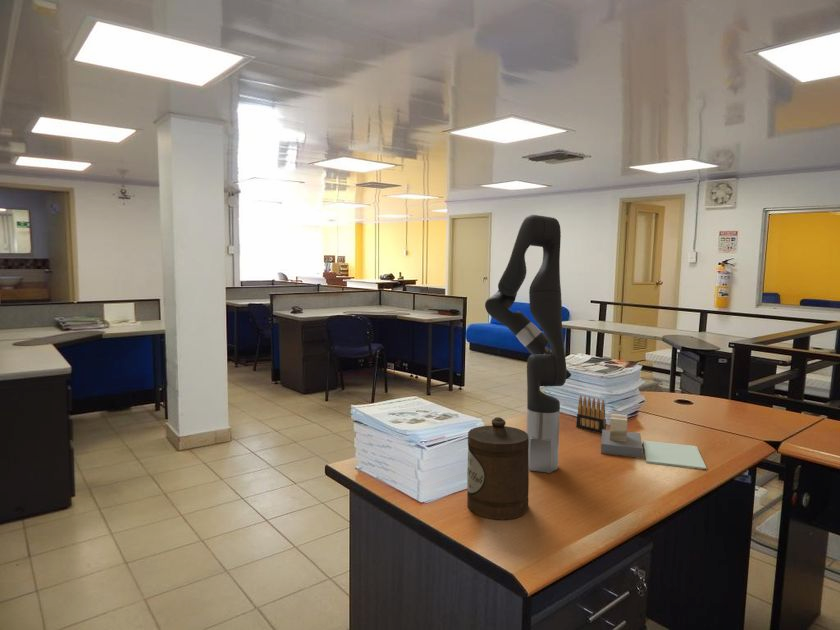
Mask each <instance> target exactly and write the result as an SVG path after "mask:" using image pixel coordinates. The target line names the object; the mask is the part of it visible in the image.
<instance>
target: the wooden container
mask: <svg viewBox="0 0 840 630" xmlns="http://www.w3.org/2000/svg"><path fill="white" fill-rule="evenodd" d="M505 425H506V421H505V419H503V418H502V417H498V416H497V417H494V418H493V419H492V420H491V425H483V426H482V425H481V426H476V427H473V428H471V429H470V430H469V431H468V432H467V471H466V473H467V477H466V481H467V482H466V484H467V486H466V487H467V488H466V489H467V490H466V491H467V495H466V496H467V501H466V504H467V508H468V509H469V510H470V511H471V512H472V511H473V512H472V513H474V514H475V515H478V516H479V517H481V518H482V517H483V518H486V519H491V520H504V521H505V520H511V519H512V520H513V519H517V518H520V517H522V516H523V515H525V514H526V513H527V512H528V510H529V489H530V485H529V483H530V482H529V481H530V480H529V479H530V478H529V477H530V474H529V473H530V470H529V468H528V447H529V439H528V434H527V431H525V430H524V429H523V430H522V429H520V428H516V427H512V426H507V425H506V426H505Z"/></svg>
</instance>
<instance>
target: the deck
mask: <svg viewBox="0 0 840 630" xmlns="http://www.w3.org/2000/svg"><path fill="white" fill-rule="evenodd" d="M643 448H644V447H643V441H642V436H641V432H634V431H633V432H631V431H627V442H624V441H615V440H610V429H606V430H604V429H602V434H601V443H600V453H601V454H606V455H613V456H621V455H622V457H632V458H640V459H643V450H644V449H643Z"/></svg>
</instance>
